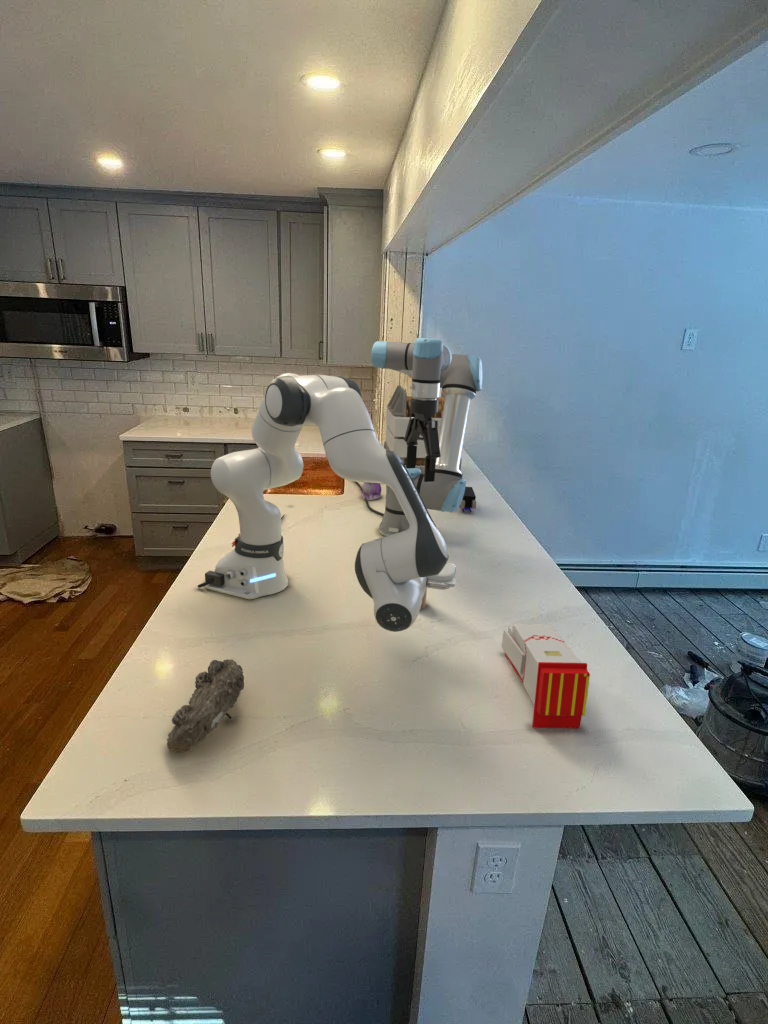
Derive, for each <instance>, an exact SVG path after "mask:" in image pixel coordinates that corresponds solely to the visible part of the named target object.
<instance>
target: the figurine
mask: <svg viewBox="0 0 768 1024" xmlns="http://www.w3.org/2000/svg"><path fill="white" fill-rule="evenodd" d="M361 487H362V491H363V493H362V491H361V498H362V500H364V501H365V498H366V499H367V501H373V500H377V499H380V498H381V497H382V496H381V495H382V486H381V483H367V482H362V485H361Z"/></svg>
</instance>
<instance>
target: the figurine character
mask: <svg viewBox="0 0 768 1024" xmlns="http://www.w3.org/2000/svg"><path fill="white" fill-rule="evenodd" d="M476 498H477V496H476V493H475V491H474V489H473V487H472V486H465V492H464V496H463V499H462V502H461V504H460V506H459V509H461V511H462V513H465V511H469V514H471V513H473V511H472V510H475V509H476V508H477V500H476Z"/></svg>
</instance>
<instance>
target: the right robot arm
mask: <svg viewBox="0 0 768 1024" xmlns="http://www.w3.org/2000/svg"><path fill="white" fill-rule="evenodd" d="M370 355H371V358H370V359H371V363H372V365H373V367H374V368H376V369H377V368H378V369H382V370H393V371H394V372H395V371H396V372H398V373H401V374H404V375H407V376H408V377H409V378H410V379H411V385H410V386H409V389H410V396H412V397H413V398H412V399H411V402H410V411H411V412H410V419H409V423H408V427H407V431H406V435H405V438H404V441H405V442H406V444H407V445H408V446H407V460H406V465H405V467H406V469H407V471H408V472H409V474H410V476H411V478H412V480H413V482H414V484H415V486H416V488H417V490H418V492H419V494H420V496H421V498H422V500H423V502H424V504H425V506H426V508H427V510H432V511H437V512H438V511H439V512H441V513H444V512H447V513H455V512H457V511H458V510H459V509H460V507H459V506H460V504H461V502H462V499H463V496H464V492H465V487H467V481H466V479H464V478H463V472H462V470H461V471H460V470H459V465H460V459H461V458H462V453H463V447H464V446H463V445H464V440H465V435H466V429H467V423H468V416H469V410H470V404H471V401H472V400H473V399H475V398H476V396H477V393H478V392H481V391H482V389H483V363H482V359H481V358H480V357H479V356H478V355H472V354H458V353H452V351H451V349H450V348H449V347H448V346H447V345H446V344H443V340H442V339H440V338H435V337H416V338H415V339H414V341H413V342H402V341H401V342H400V341H388V340H377V341H375V342H374V343H373V345H372V348H371V353H370ZM440 389H441V392H442V393H443V394H444V396H445V402H444V408H443V414H442V420H441V426H440V432H439V438H438V421H437V420H432V415H433V414H436V413H437V412H438V402H439V401H438V400H437V398H438V397H440ZM420 434H421V436H422V437H423V439H424V444H425V449H426V453H427V456H426V457H425V459H426V460H425V466H424V473H422V469H421V468H419V467H417V466H416V454H417V446H414V445H418V443H417V440H418V438H419V436H420ZM353 482H354V483H355V484H356V485H357V486H358V487H359V489H360V491H361V494H362V493H363V491H362V485H361V484H360V482H355V481H353ZM364 502H365V504H366V507H367V508H368V509H369V511H371V512H373V513H375V514H377V515H380V516H382V519H381V522H379V525H378V533H379V534H380V535H381V536H382V537H386V536H390V535H393V534H396V533H399V532H402V531H405V530H407V529H409V527H410V524H409V522H408V520H407V518H406V516H405V514H404V512H403V509H402V507H401V505H400V503H399V501H398V499H397V497H396V495H395V493H394V491H393V490H392V489H391V488H390V487H389V486H387V485H385V504H384V505H385V507H384V508H385V509H384V512H380V511H378V510H375V509H374V508H372V507H371V506H370V504H369V500H367V499H366V498H365V500H364Z"/></svg>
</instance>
